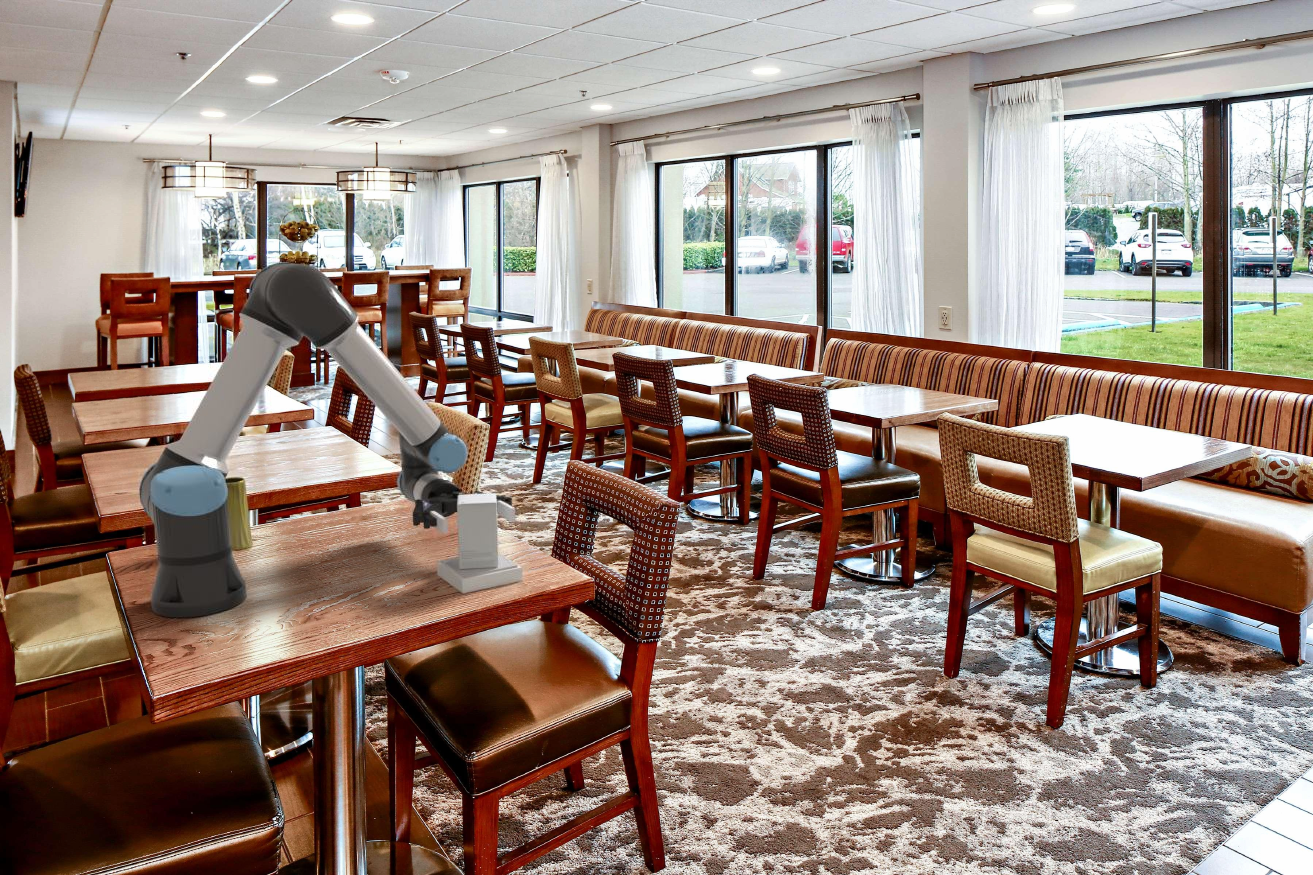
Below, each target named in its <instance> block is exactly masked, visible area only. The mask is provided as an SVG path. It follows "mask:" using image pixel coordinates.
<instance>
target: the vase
mask: <svg viewBox="0 0 1313 875" xmlns="http://www.w3.org/2000/svg"><path fill="white" fill-rule="evenodd" d="M225 482H226V485H227V489H228V496H227V500H228V512H229V523H230V535H231V546H232V551H240V550H245V548H246V549H249V548H250V547H252V546H253V545H254V542H253V540H252V539H253V537H252V530H251V522H250V513H249V505H248V504H249V503H248V497H247V486H246V485H247V484H246V479H245V478H244V477H239V476H233V477H232V476H231V477H226V478H225ZM248 547H249V548H248Z"/></svg>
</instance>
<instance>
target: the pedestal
mask: <svg viewBox="0 0 1313 875" xmlns="http://www.w3.org/2000/svg"><path fill="white" fill-rule="evenodd" d="M436 566H437V567H436V569H437V571H436V572H437V573H436V574H437V576H438V577H440V578H441V579H443V580H444V581H445V582H447V583H448V584H450V585H451V586H452V587H453V588H455V590H458V591H459V592H460V593H461V594H467V593H471V592H476V591H480V590H485V589H489V588H495V587H498V586H504V585H508V584H513V583H518V582H522V581H523V567H522V566H521V565H519V564H518V563H516V562H514V561H512V560H510V559H509V558H507V557H506V556H504V555H502V554H501V553H500V552H498V567H495V568H475V569H459V556H456V557H451V558H446V559H441V560H440V561H436Z"/></svg>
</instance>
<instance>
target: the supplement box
mask: <svg viewBox="0 0 1313 875" xmlns="http://www.w3.org/2000/svg"><path fill="white" fill-rule="evenodd" d="M467 494H468V495H458V500H457V512H456V513H457V515H456V517H457V543H458V545H457V548H458V557H459V569H475V568H495V567H498V553H499V537H498V536H499V534H498V533H499V528H498V526H499V525H498V512H497V499H496V495H497V494H496V493H495V492H493V493H492V492H491V493H488V494H474V493H472V494H471V493H467Z"/></svg>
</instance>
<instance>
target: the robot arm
mask: <svg viewBox="0 0 1313 875" xmlns="http://www.w3.org/2000/svg"><path fill="white" fill-rule="evenodd" d="M239 317H240V318H239V319H240V320H241V324H242V327H241V329H240V331H239V333H238V334H237V336H236V339H235V340H234V342H233V344H232V346H231V348H230V349H229V351H228V352H227V354H226V357H225V358H224V360H223V362H222V364H221V365H220V367H219V369H218V370H217V372H216V374H215V376H214V378H213V379H212V382H211V383H210V385H209V387H208V389H207V390H206V392H205V394H204V396H203V398H202V399H201V401H200V403H199V405H198V407H197V408H196V410H195V412H194V414H193V416H192V418H191V420H190V421H189V423H188V425H187V426H186V428H185V430H184V432H183V433H182V436H181V437H180V439H179V440H177V441H174V442H171V443H168V444H166V445H165V447H164V450H163V451H162V453H161V455H160V456H159V458H158V459H157V462H155V463H154V464H153V465H150V467H148V469H147V470H146V471H145V472H144V474H143V476H142V478H141V480H140V483H139V488H138V491H139V493H138V495H139V500H140V503H141V505H142V507H143V508H142V509H143V510H144V512H145V513H146V514H147V516H149V518H150V519H151V521H152V522H153V524H154V525H153V526H154V531H155V541H156V549H157V550H156V551H157V557H158V558H157V560H158V568H157V570H156V571H157V572H156V575H155V579H154V583H153V587H152V591H151V595H150V603H151V610H152V612H153V613H154V614H156V615H158V616H162V617H167V618H175V619H176V618H179V619H180V618H193V617H194V618H195V617H202V616H207V615H212V614H217V613H221V612H224V611H226V610H230V609H232V608H235V607H236V606H238V605H240V604H241V603H243V602H244V601H245V600H246V599H247V597H248V595H247V584H246V581H245V579H244V577H243V575H242V573H241V570H240V568H239V566H238V563H237V562H236V560H235V557H234V556H233V550H232V546H231V535H230V523H229V512H228V500H227V496H228V489H227V485H226V482H225V478H227V477H228V474H229V472H230V471H229V467H228V465H227V462H226V460H227V458H228V457H229V455H230V453H231V451H232V449H233V447H234V446H235V443H236V442H237V440H238V438H239V436H240V435H241V432H242V431H243V429H244V427H245V426H246V423H247V421H248V420H249V419H250V416H251V414H252V412H253V411H254V409H255V407H256V406H257V403H258V402H259V399H260V398H261V396H262V394H263V392H264V390H265V388H266V386H267V385H268V383H269V382H270V380H271V378H272V376H273V374H274V372H275V371H276V369H277V366H278V364H279V363H280V361H281V359H282V357H283V356H284V354H285V352H286V350H287V349H288V348H292V347H295V346H298V345H299V344H300V342H301V341H302V339H303V337H305V338H307V339H308V341H310V342H311V343H312V345H313V346H314V347H315V348H316V349H319V350H325V351H326V352H327V353H328V354H329V355H330V357H332V359H333V360H334V361H335V362H336V363H337V365H339V367H341V369H342V370H343V371H344V372H345V373H346V375H348V377H349V378H350V379H351V380H353V382H354V383H355V385H356V386H358V388H359V389H360V390H361V391H362V392H363V393H364V394H365V395H366V397H367V398H368V399H369V400H370V401H371V402H372V403H373V405H374V406H375V407H376V408H378V410H379V412H381V413H382V414H383V416H385V418H386V419H387V420H388V421H389V422H390V423H391V425H393V427H394V428H395V429H396V430H397V435H398V442H399V451H400V452H399V453H400V462H401V470H400V472H399V474H398V476H397V480H396V481H397V482H396V484H397V488H398V490H399V491H400V493H401V494H402V495H403V496H404V498H406V499H407V500H408V501H411V502H412V503H414V508H413V510H412V524H413V526H415V527H417V526H419V525H421V523H423V529H424V530H429V529H430V528H432V527H433V528H435V530H437V531H439V532H440V533H442V534H443V535H445V534H448V533H449V530H448V529H449V528H448V519H447V518H448V517H450V516H453V515H454V514H455V513H457V500H458V495H468V494H469V493H463V492H462V490H461V489H460V487H459V486H458V485H457V484H456V483H454V482H452V480H451V481H450V480H449V479H447V478H445V477H443V476H441V475H440V474H439V472H442V473H446V474H451V473H454V472H458V471H459V470H460V469H461V468H462V467H463V466H464V465H465V463H466V462H467V459H468V447H467V445H466V443H465V442H464V441H463V440H462V439H461V438H459V436H457V435H455V434H452V433H451V431H450V430H449V429H448V428H447V427H446V426H445V424H444V423H443V422H442V421H441V420H440V418H438V415H436V414H435V412H434V411H433V410H432V409H431V408H430V406H429V405H427V403H426V402H425V401H424V400H423V398H422V397H421V396H420V395H419V394H418V393H417V391H416V390H415V389H414V388H413V387H412V385H411V384H410V383H409V381H407V379H405V377H404V376H403V375H402V374H401V372H400V371H399V370H398V369H397V368H396V367H395V365H394V364H393V363H392V361H391V360H390V359H389V358H388V357H387V356H386V355H385V354H384V352H383V351H382V350H381V349H380V347H379V346H378V345H377V344H376V343H375V342H374V340H373V339H372V338H371V337H370V336H369V334H368V333H367V332H366V331H365V330H364V329H363V327H362V326H361V325H360V324H359V320H360V319H359V318H360V316H359V315H358V313H357V312H356V310H355V309H354V308H353V307H352V306H351V304H350V303H349V302H348V301H347V299H346V298H345V297H344V295H343V294H342V293H341V292H340V290H339V289H338V287H336V286H335V284H334V283H333V282H332V280H330V279H329V277H328V276H326V274H324V273H323V272H322V271H321V270H320V269H318V268H316V267H314V266H312V265H308V264H303V263H292V262H288V261H286V262H276V263H272V264H269V265H267V266H265V267H263V268H262V269H260V270H259V271H258V272H257V273H256V274H255V275H254V276H253V279H252V280H251V282H250V285H249V291H248V298H247V300H246V302H245V303H244V305H243V307H242V309H241V311H240V312H239ZM473 494H488V493H487V492H482V491H480V490H475V491H474V493H473ZM496 499H497V516H500V517H502V518H504V519H505V520H507V521H509V522H510V523H515V522H516V508H515V507H514V506H513V497H511V496H505V495H499V494H496Z"/></svg>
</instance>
